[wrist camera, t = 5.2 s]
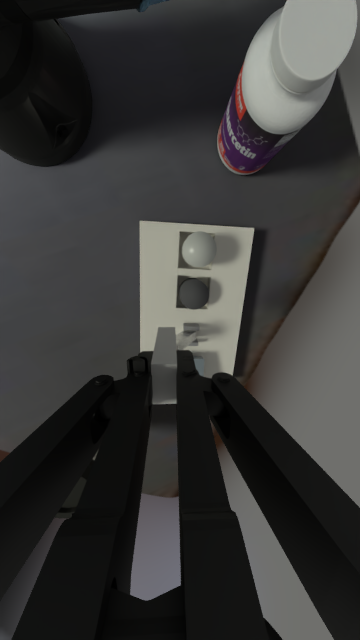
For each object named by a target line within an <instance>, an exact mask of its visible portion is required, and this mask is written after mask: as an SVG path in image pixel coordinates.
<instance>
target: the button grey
mask: <svg viewBox="0 0 360 640" xmlns="http://www.w3.org/2000/svg"><path fill="white" fill-rule="evenodd" d="M216 251H217V247H216V243H215V240H214V239H213V237H212V236H211V235H210V234H208V233H206V232H202V231H198V232H194V233H192V234H191V235H189V236H188V237H187V239H186V240H185V242H184V243H183V246H182V257H183V259H184V261H185V262H186V263H187V264H189V265H191V266H195V267H204V266H207V265H208V264H210V263H211V262H212V261H213V259H214V258H215V255H216Z"/></svg>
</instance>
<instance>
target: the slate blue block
mask: <svg viewBox="0 0 360 640" xmlns="http://www.w3.org/2000/svg"><path fill="white" fill-rule="evenodd" d="M193 358H194V362H195V367H196V370H198V372H199V375H201V376H204V358H203V357H202V356H193Z"/></svg>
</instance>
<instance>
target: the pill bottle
mask: <svg viewBox="0 0 360 640" xmlns="http://www.w3.org/2000/svg"><path fill="white" fill-rule="evenodd" d="M356 28H357V5H356V0H287V1H286V3H285V5H284V6H283V7H282V8H280V9H278V10H277V11H275V12H274V13H273V14H272V15H270V16H269V17H268V18H267V20H266V21H265V22H264V23H263V24H262V26H261V27H260V28H259V30H258V31H257V33H256V34H255V36H254V38H253V40H252V42H251V44H250V46H249V49H248V51H247V54H246V56H245V59H244V62H243V65H242V67H241V70H240V73H239V75H238V78H237V81H236V84H235V86H234V89H233V92H232V94H231V97H230V100H229V102H228V105H227V108H226V111H225V113H224V116H223V118H222V121H221V124H220V127H219V131H218V137H217V146H218V152H219V155H220V158H221V160H222V162H223V163H224V165H225V166H226V167H227V168H228V169H229V170H230V171H232V172H234V173H236V174H239V175H249V174H252V173H255V172H257V171H258V170H260V169H261V168H263V167H264V166H265V165H266V164H267V163H268V162H269V161H270V160H271V159H272V158H273V157H274V156H275V155H276V154H277V153H278V152H279V151H280V150H281V149H282V148H283V147H284V146H285V145H286V144H287V143H288V142H289V141H290V140H291V139H292V138H293V137H294V136H295V135H296V134H297V133H298V132H299V131H300V130H301V129H302V128H303V127H304V126H305V125H306V124H307V123H308V122H309V121H310V120H311V119H312V118H313V117H314V116H315V115H316V113H317V112H318V111H319V110H320V108H321V107H322V105H323V104H324V102H325V101H326V99H327V97H328V95H329V93H330V90H331V88H332V85H333V82H334V79H335V76H336V71H337V68H338V67H339V66H340V65H341V63H342V62H343V61H344V59H345V57H346V56H347V54H348V52H349V50H350V48H351V46H352V43H353V40H354V37H355V33H356Z"/></svg>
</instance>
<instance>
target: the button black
mask: <svg viewBox="0 0 360 640" xmlns="http://www.w3.org/2000/svg"><path fill="white" fill-rule="evenodd" d="M179 295H180V299H181V302H182V304H183V305H184V306H185V307H187V308H189V309H193V310H196V309H200V308H202V307H203V306H205V305H206V303H207V302H208V300H209V290H208V287H207V286H206V285H205V284H204V283H203V282H202V281H200V280H199V279H197V278H188V279H186V280H184V281H183V282H182V283H181V285H180V287H179Z"/></svg>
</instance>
